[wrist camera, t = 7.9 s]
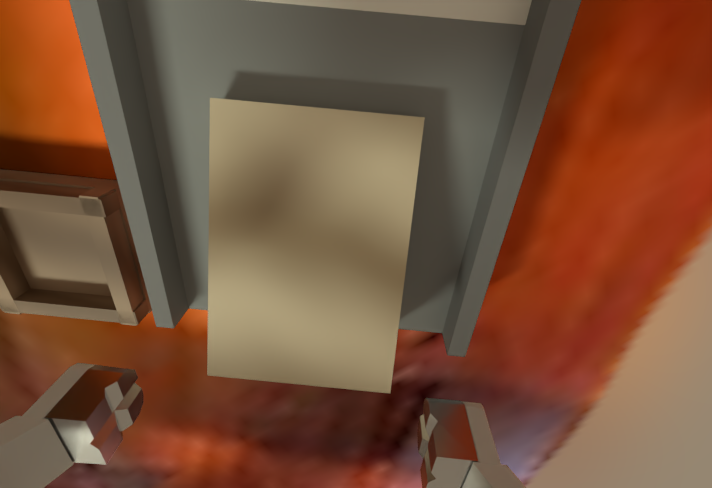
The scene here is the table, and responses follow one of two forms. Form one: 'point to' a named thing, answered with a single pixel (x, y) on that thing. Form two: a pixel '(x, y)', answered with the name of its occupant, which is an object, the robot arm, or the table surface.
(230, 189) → the ramp
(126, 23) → the grey railed platform
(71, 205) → the brown square wooden tray
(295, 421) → the table surface
